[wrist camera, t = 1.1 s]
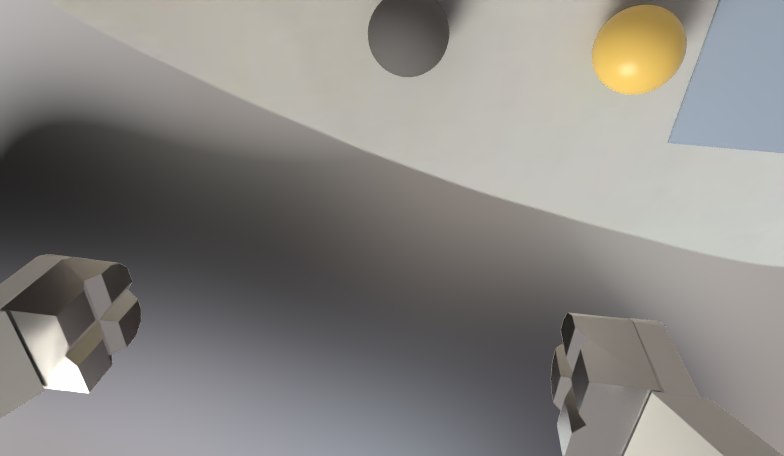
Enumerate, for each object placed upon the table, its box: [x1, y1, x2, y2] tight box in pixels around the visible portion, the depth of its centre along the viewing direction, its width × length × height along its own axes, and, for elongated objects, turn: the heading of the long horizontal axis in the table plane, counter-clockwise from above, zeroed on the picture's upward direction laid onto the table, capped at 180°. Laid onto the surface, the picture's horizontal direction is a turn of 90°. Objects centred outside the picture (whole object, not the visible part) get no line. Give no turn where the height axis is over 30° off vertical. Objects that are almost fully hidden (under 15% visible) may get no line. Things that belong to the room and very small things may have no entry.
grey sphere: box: [368, 0, 449, 77], centre depth 34 cm, size 6×6×6 cm
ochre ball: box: [592, 4, 687, 95], centre depth 32 cm, size 6×6×6 cm
